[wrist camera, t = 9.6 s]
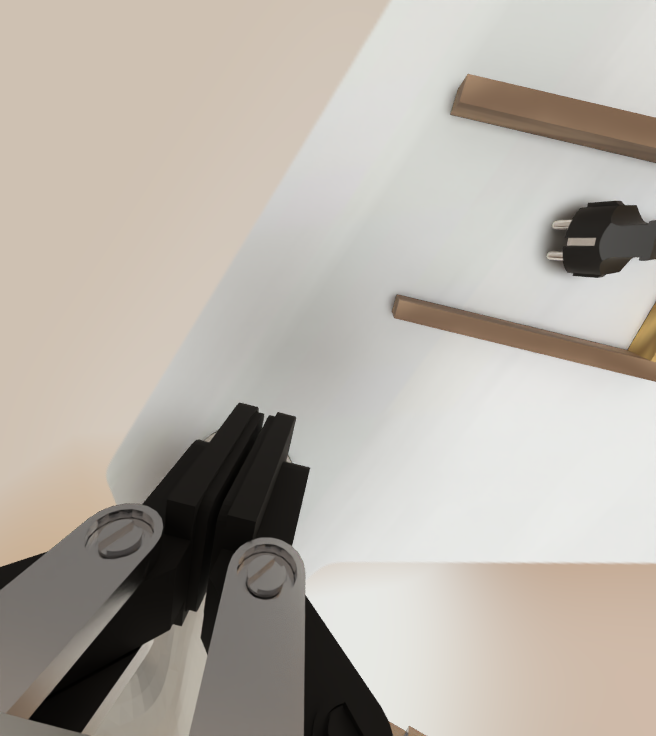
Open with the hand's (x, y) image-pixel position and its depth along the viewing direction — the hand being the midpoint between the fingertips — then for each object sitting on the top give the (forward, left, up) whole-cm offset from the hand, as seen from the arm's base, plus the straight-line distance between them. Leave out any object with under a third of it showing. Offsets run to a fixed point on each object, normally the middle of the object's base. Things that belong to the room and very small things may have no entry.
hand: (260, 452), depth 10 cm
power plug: (+11, -23, -27) cm, 37 cm away
